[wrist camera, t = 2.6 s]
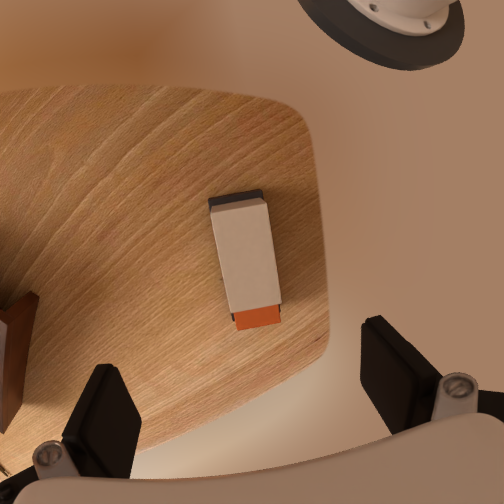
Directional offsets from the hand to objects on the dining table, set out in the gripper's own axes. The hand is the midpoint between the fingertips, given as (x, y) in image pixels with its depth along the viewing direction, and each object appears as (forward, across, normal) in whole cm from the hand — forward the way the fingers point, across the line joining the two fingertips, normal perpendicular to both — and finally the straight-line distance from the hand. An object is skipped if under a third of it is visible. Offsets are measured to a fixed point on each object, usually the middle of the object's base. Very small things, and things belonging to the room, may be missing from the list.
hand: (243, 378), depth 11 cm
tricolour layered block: (+15, -1, 0) cm, 15 cm away
